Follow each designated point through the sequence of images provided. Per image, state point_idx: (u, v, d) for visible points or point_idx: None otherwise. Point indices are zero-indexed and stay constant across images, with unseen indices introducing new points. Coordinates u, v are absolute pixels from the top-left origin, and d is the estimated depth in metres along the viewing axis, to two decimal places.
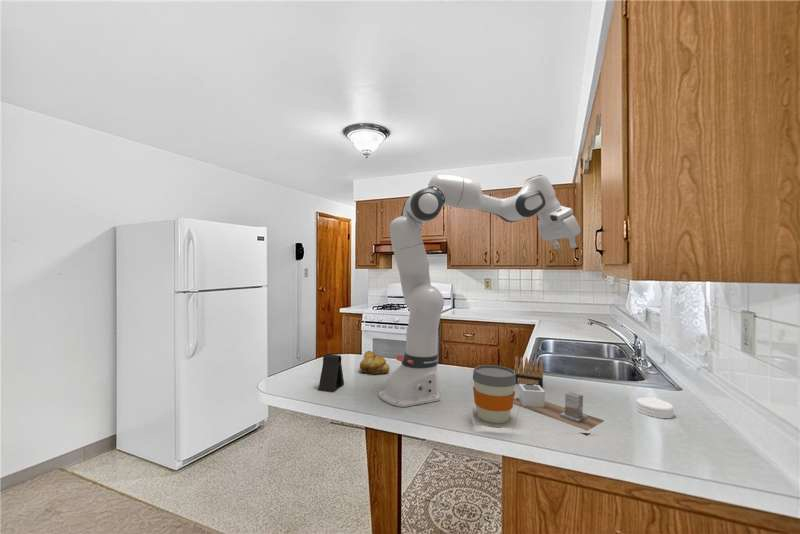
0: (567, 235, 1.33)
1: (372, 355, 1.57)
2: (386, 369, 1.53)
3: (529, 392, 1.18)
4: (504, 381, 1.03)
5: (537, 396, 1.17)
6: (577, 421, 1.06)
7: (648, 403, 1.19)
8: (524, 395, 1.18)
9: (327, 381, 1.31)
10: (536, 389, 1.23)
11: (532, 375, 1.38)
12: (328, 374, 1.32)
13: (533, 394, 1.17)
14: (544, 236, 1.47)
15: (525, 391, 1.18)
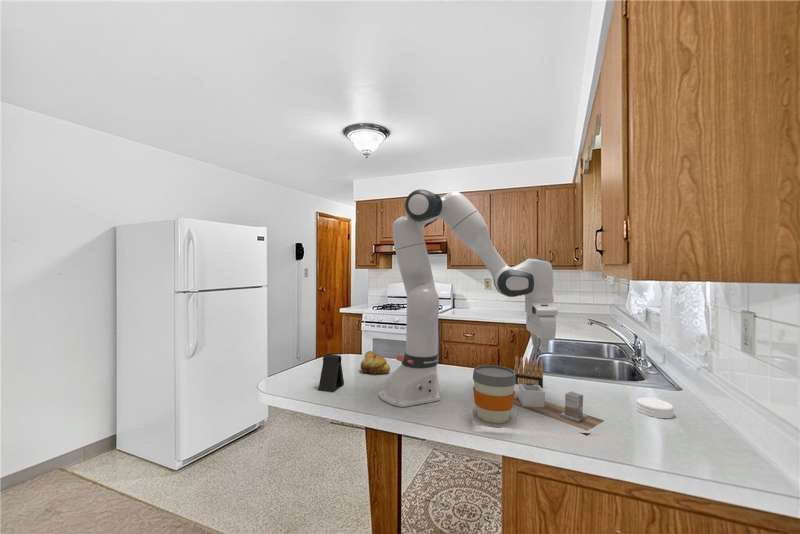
0: (540, 335, 1.14)
1: (373, 355, 1.57)
2: (387, 369, 1.52)
3: (529, 392, 1.18)
4: (504, 381, 1.03)
5: (537, 396, 1.17)
6: (577, 421, 1.06)
7: (648, 403, 1.19)
8: (524, 395, 1.18)
9: (327, 381, 1.31)
10: (536, 389, 1.23)
11: (532, 375, 1.38)
12: (328, 374, 1.32)
13: (533, 394, 1.17)
14: (527, 326, 1.29)
15: (525, 391, 1.18)
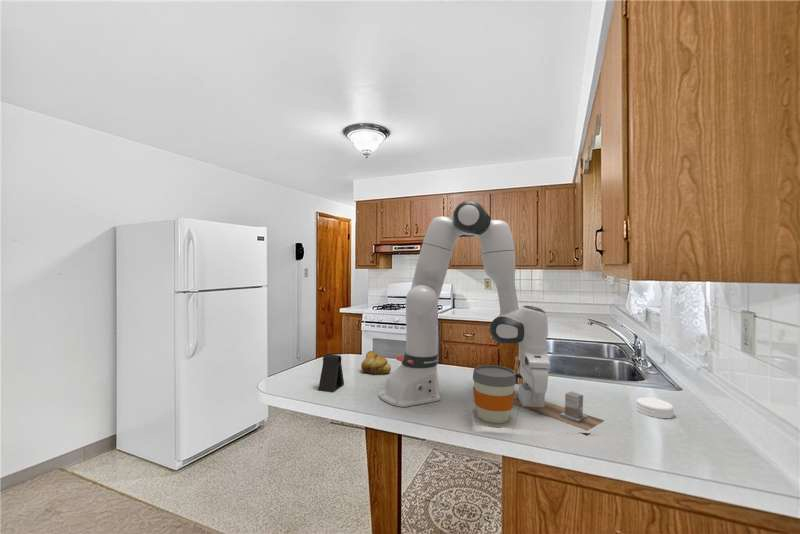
0: (531, 387, 1.14)
1: (374, 355, 1.57)
2: (387, 369, 1.52)
3: (529, 392, 1.18)
4: (504, 381, 1.03)
5: None
6: (577, 421, 1.06)
7: (648, 403, 1.19)
8: (524, 395, 1.18)
9: (327, 381, 1.31)
10: None
11: None
12: (328, 374, 1.32)
13: None
14: (521, 371, 1.28)
15: (525, 391, 1.18)
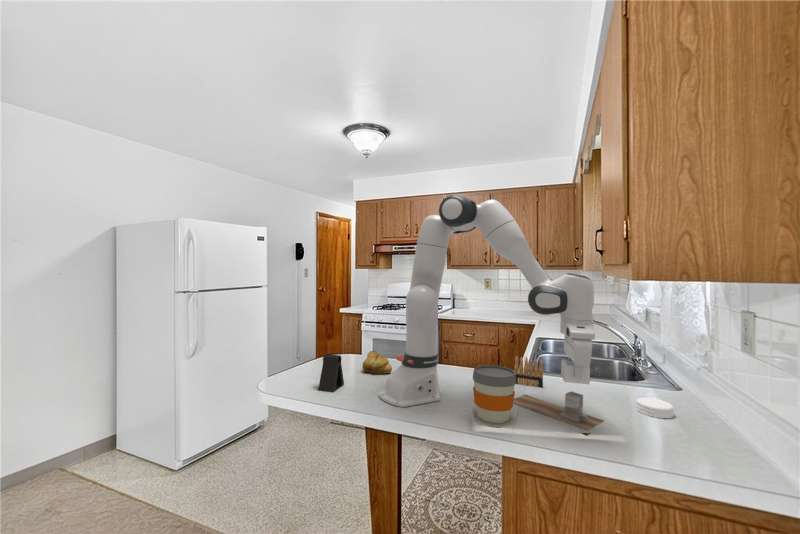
0: (573, 360, 1.03)
1: (375, 355, 1.57)
2: (388, 369, 1.52)
3: (572, 367, 1.07)
4: (504, 381, 1.03)
5: None
6: (577, 421, 1.06)
7: (648, 403, 1.19)
8: (566, 370, 1.07)
9: (327, 381, 1.31)
10: None
11: (532, 375, 1.38)
12: (328, 374, 1.32)
13: None
14: (565, 347, 1.17)
15: (567, 365, 1.07)
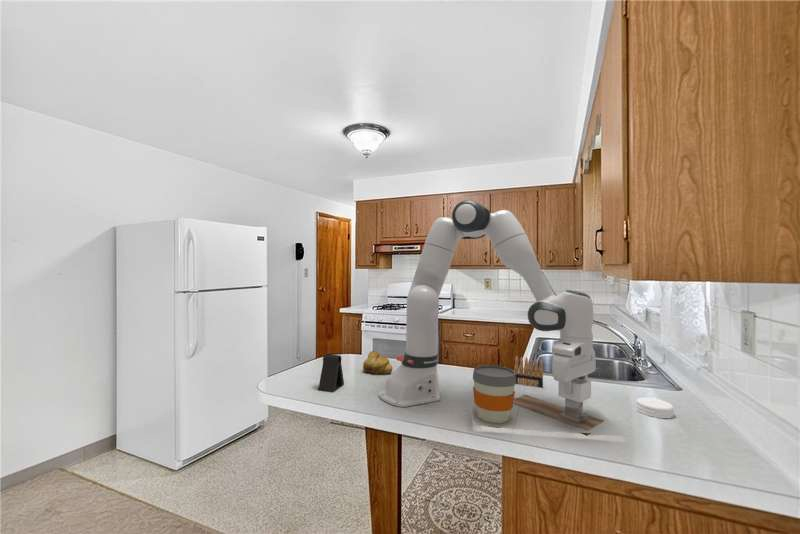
0: None
1: (376, 355, 1.57)
2: (389, 369, 1.52)
3: None
4: (504, 381, 1.03)
5: (573, 388, 1.07)
6: (577, 421, 1.06)
7: (648, 403, 1.19)
8: (559, 384, 1.10)
9: (327, 381, 1.31)
10: None
11: (532, 375, 1.38)
12: (328, 374, 1.32)
13: None
14: None
15: None
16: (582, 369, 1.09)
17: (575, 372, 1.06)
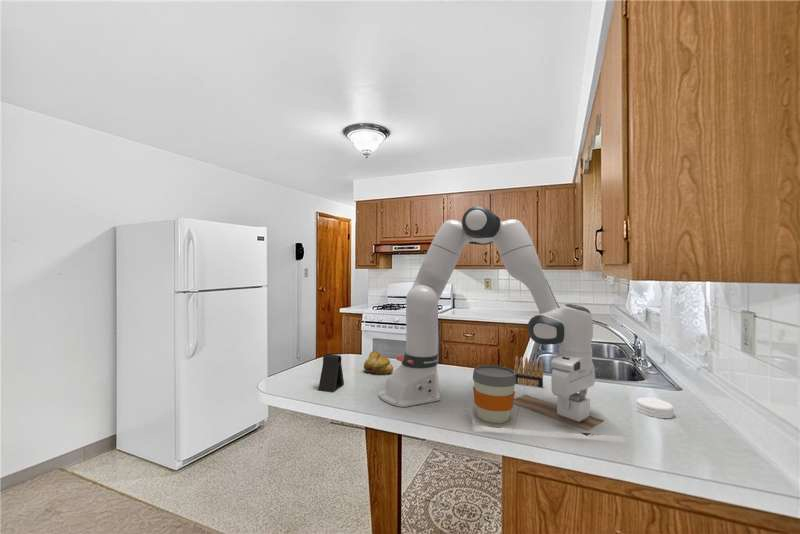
0: None
1: (376, 355, 1.57)
2: (389, 369, 1.52)
3: None
4: (504, 381, 1.03)
5: (571, 407, 1.07)
6: (577, 421, 1.06)
7: (648, 403, 1.19)
8: (558, 402, 1.10)
9: (327, 381, 1.31)
10: None
11: (532, 375, 1.38)
12: (328, 374, 1.32)
13: None
14: None
15: (559, 398, 1.10)
16: (581, 384, 1.09)
17: (575, 387, 1.06)
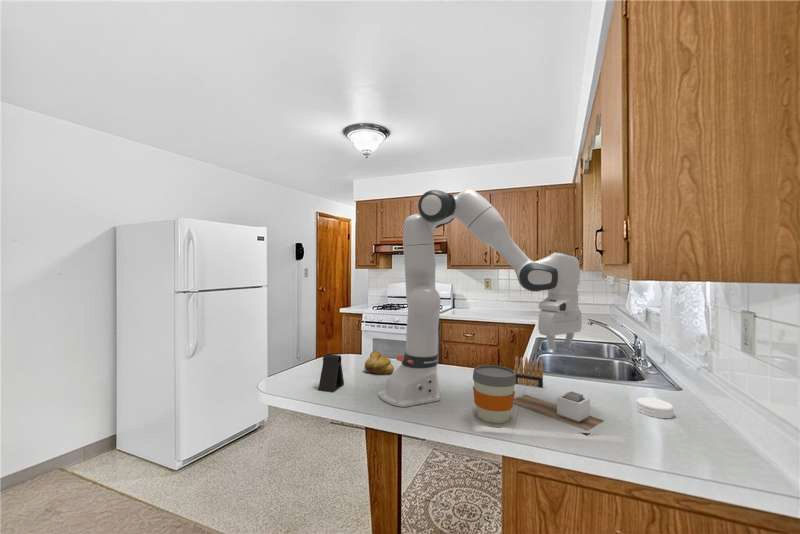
0: None
1: (377, 355, 1.57)
2: (390, 369, 1.52)
3: (563, 400, 1.09)
4: (504, 381, 1.03)
5: (571, 407, 1.07)
6: (577, 421, 1.06)
7: (648, 403, 1.19)
8: (558, 402, 1.10)
9: (327, 381, 1.31)
10: None
11: (532, 375, 1.38)
12: (328, 374, 1.32)
13: (568, 403, 1.08)
14: None
15: (559, 398, 1.10)
16: (567, 326, 1.15)
17: (560, 328, 1.13)
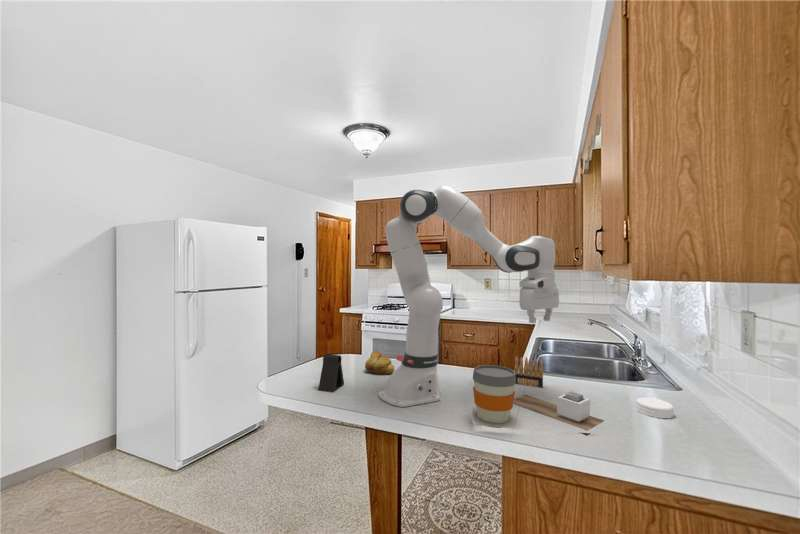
0: None
1: (378, 355, 1.57)
2: (390, 369, 1.52)
3: (563, 400, 1.09)
4: (504, 381, 1.03)
5: (571, 407, 1.07)
6: (577, 421, 1.06)
7: (648, 403, 1.19)
8: (558, 402, 1.10)
9: (327, 381, 1.31)
10: None
11: (532, 375, 1.38)
12: (328, 374, 1.32)
13: (568, 403, 1.08)
14: None
15: (559, 398, 1.10)
16: (546, 302, 1.27)
17: (539, 303, 1.25)
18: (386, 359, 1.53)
